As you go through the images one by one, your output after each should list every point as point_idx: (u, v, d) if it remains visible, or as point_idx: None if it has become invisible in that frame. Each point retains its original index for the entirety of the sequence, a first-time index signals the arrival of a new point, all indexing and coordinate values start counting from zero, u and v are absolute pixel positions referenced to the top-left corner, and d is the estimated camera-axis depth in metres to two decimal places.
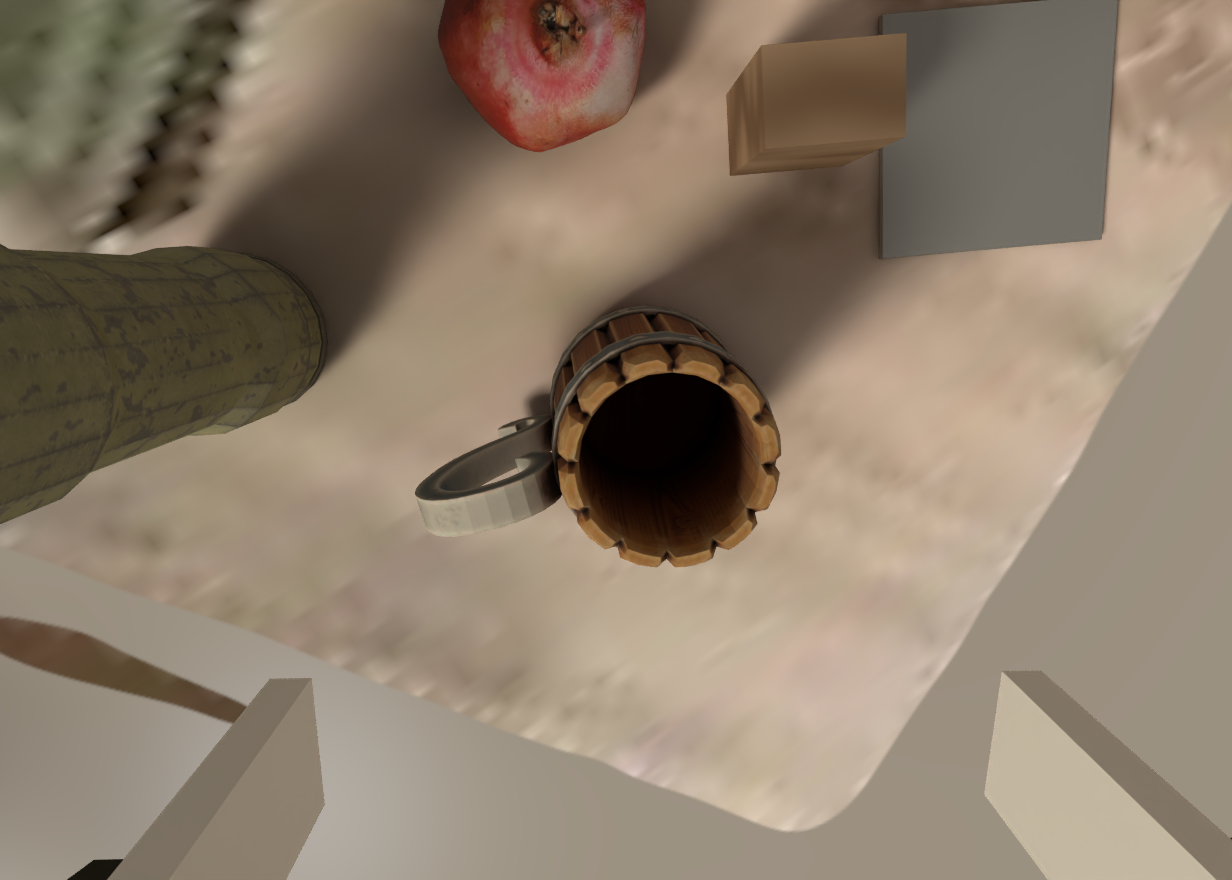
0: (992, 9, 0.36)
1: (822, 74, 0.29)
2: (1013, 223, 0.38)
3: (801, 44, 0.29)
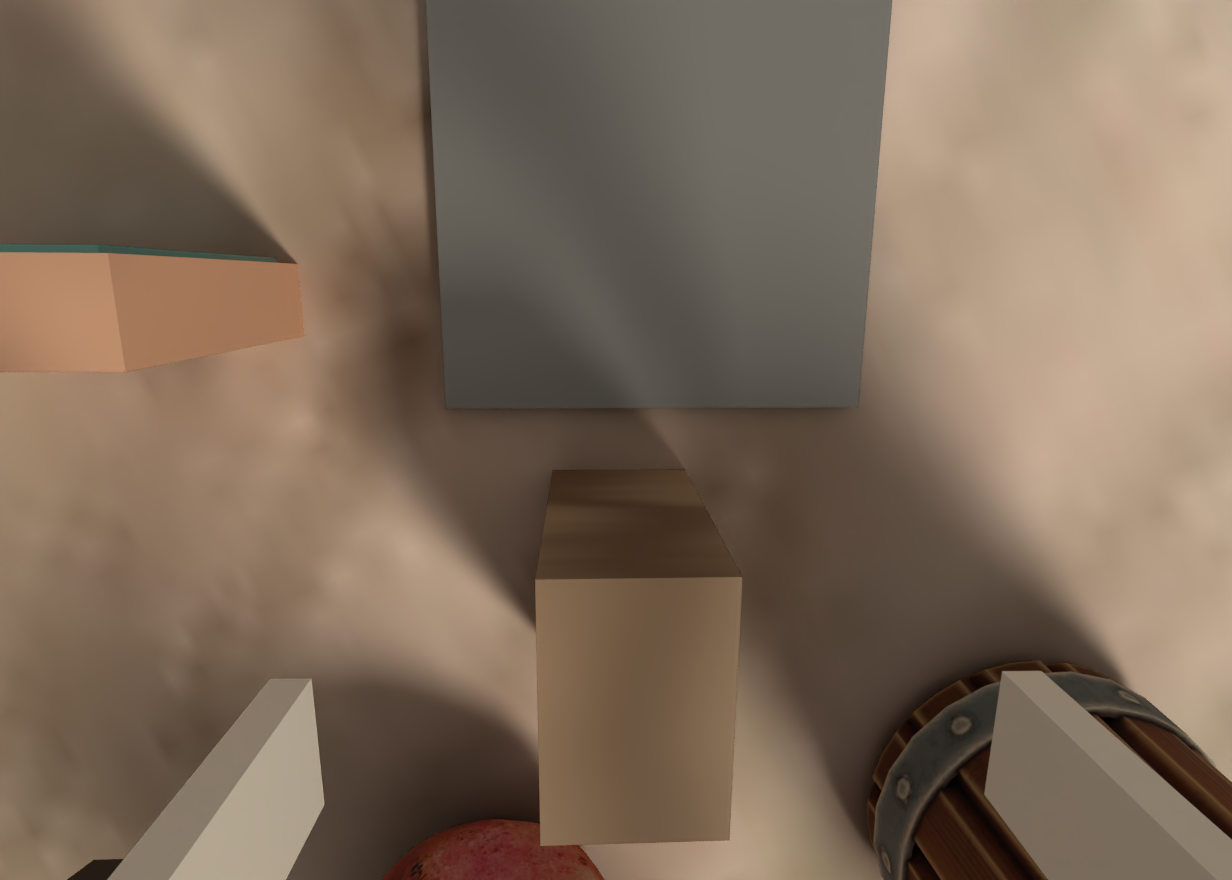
0: (443, 204, 0.19)
1: (602, 739, 0.14)
2: (835, 147, 0.19)
3: (544, 777, 0.14)
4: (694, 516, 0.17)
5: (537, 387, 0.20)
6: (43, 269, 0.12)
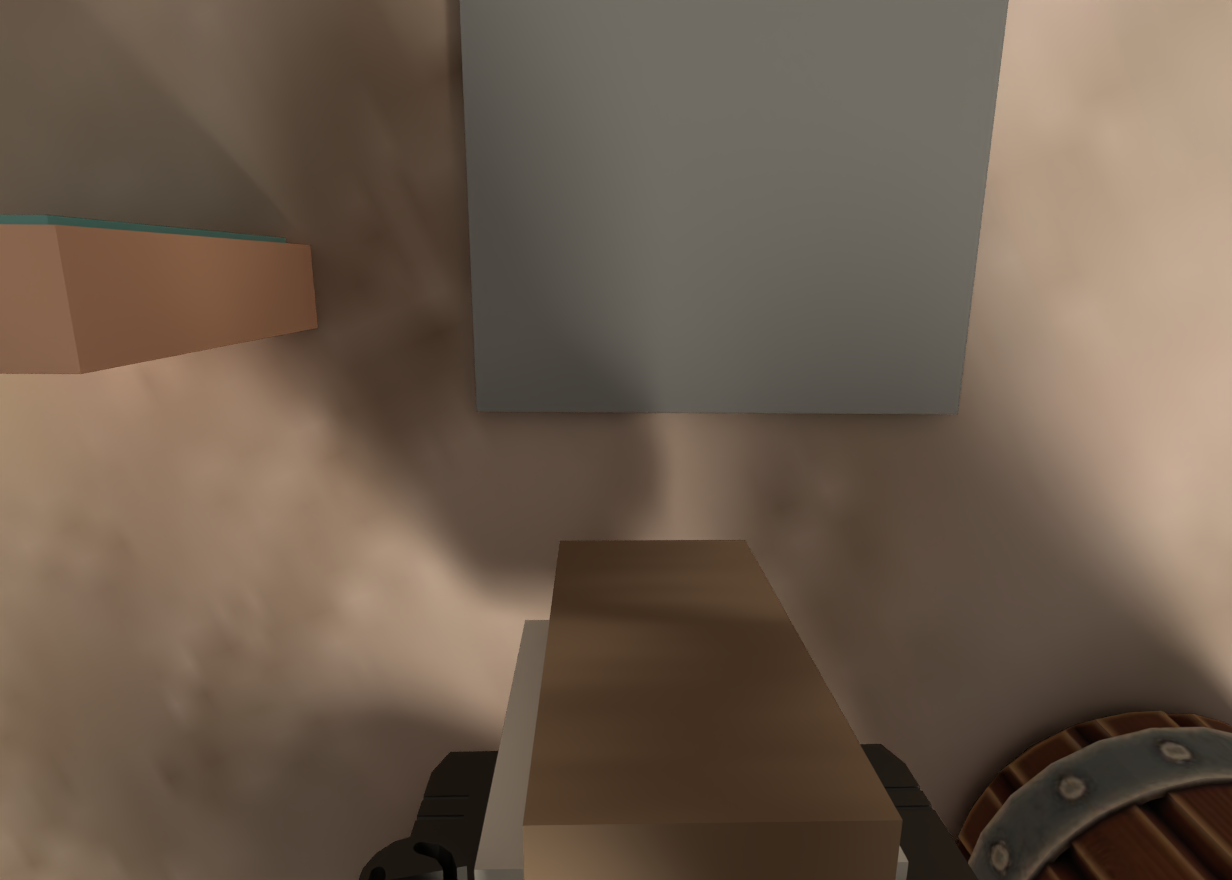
0: (475, 174, 0.16)
1: None
2: (941, 104, 0.16)
3: None
4: (779, 644, 0.11)
5: (581, 388, 0.17)
6: None
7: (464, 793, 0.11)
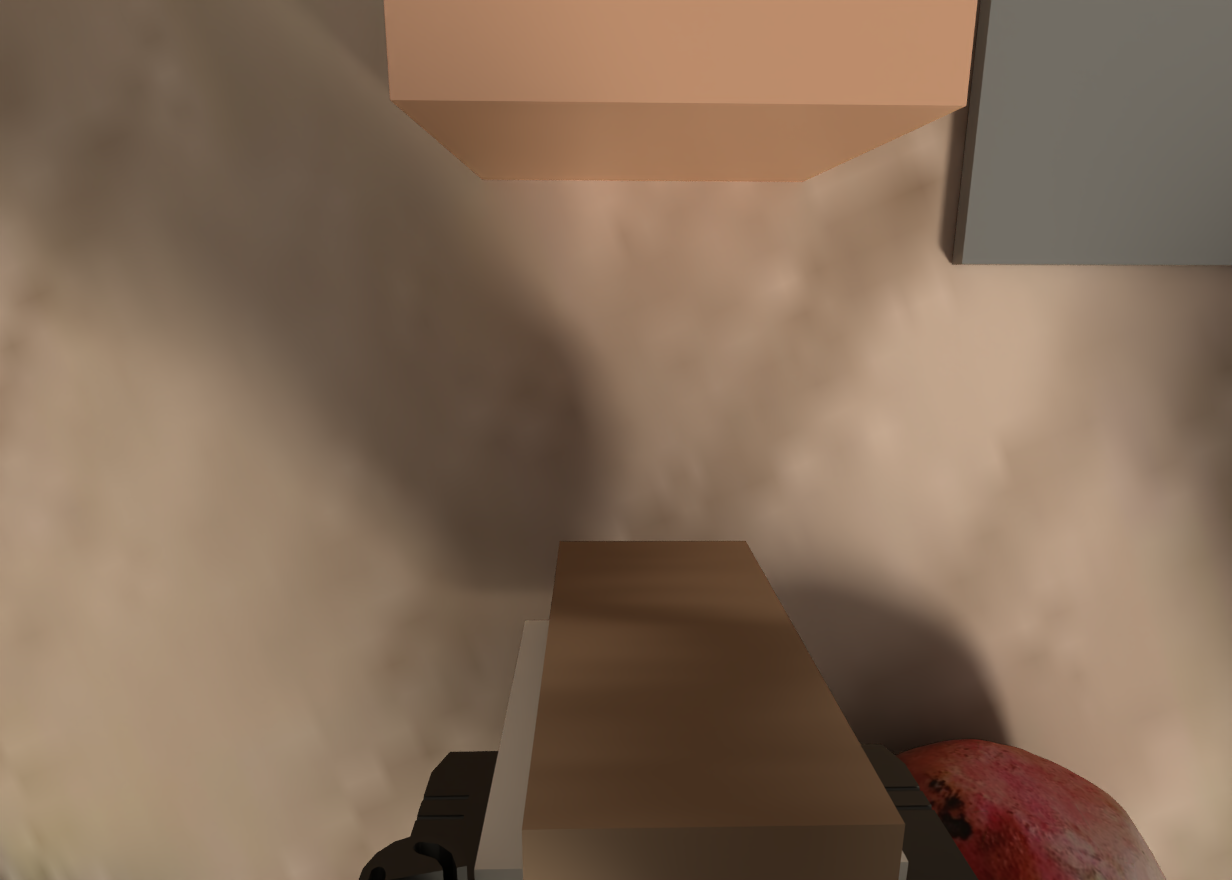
0: (997, 18, 0.16)
1: None
2: None
3: None
4: (780, 646, 0.11)
5: (1068, 239, 0.18)
6: None
7: (464, 793, 0.11)
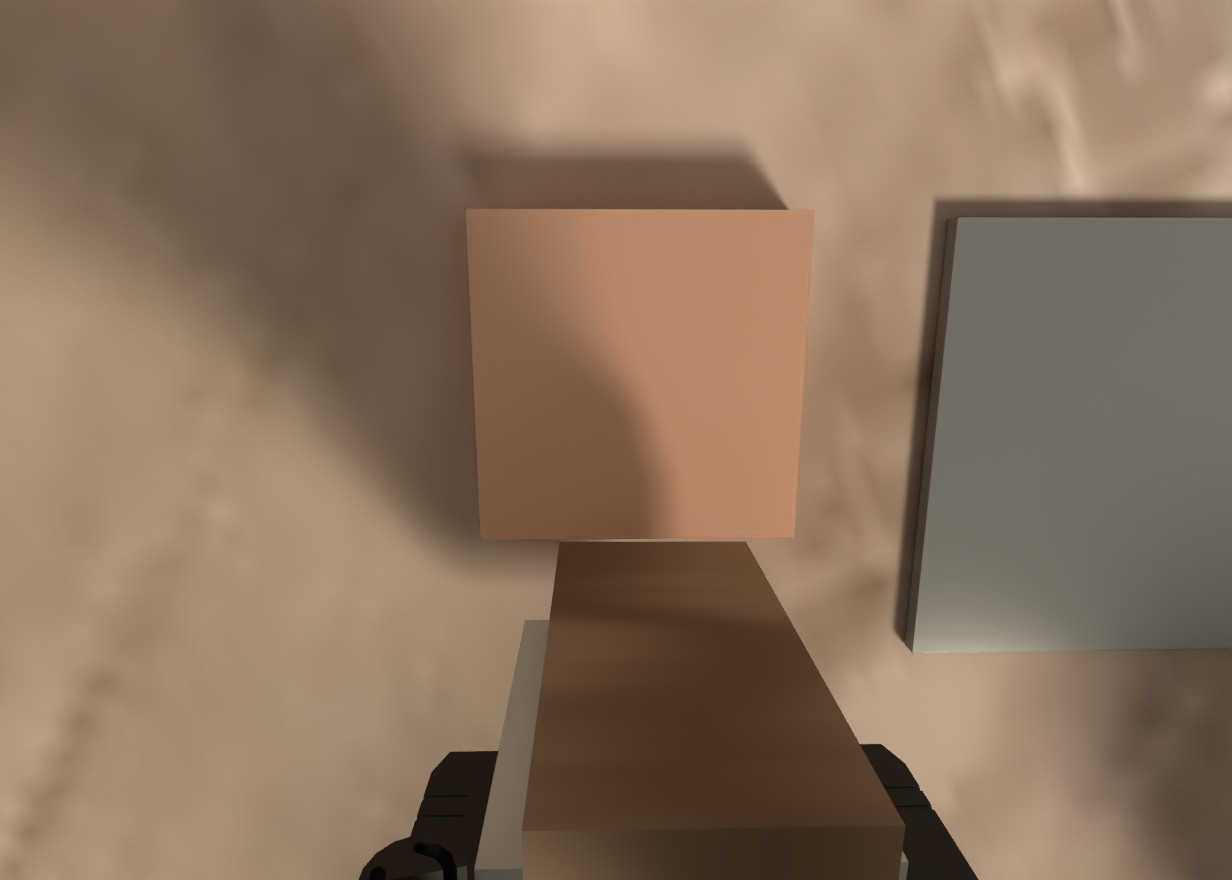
0: (939, 466, 0.19)
1: None
2: None
3: None
4: (780, 646, 0.11)
5: (1004, 632, 0.20)
6: None
7: (464, 793, 0.11)
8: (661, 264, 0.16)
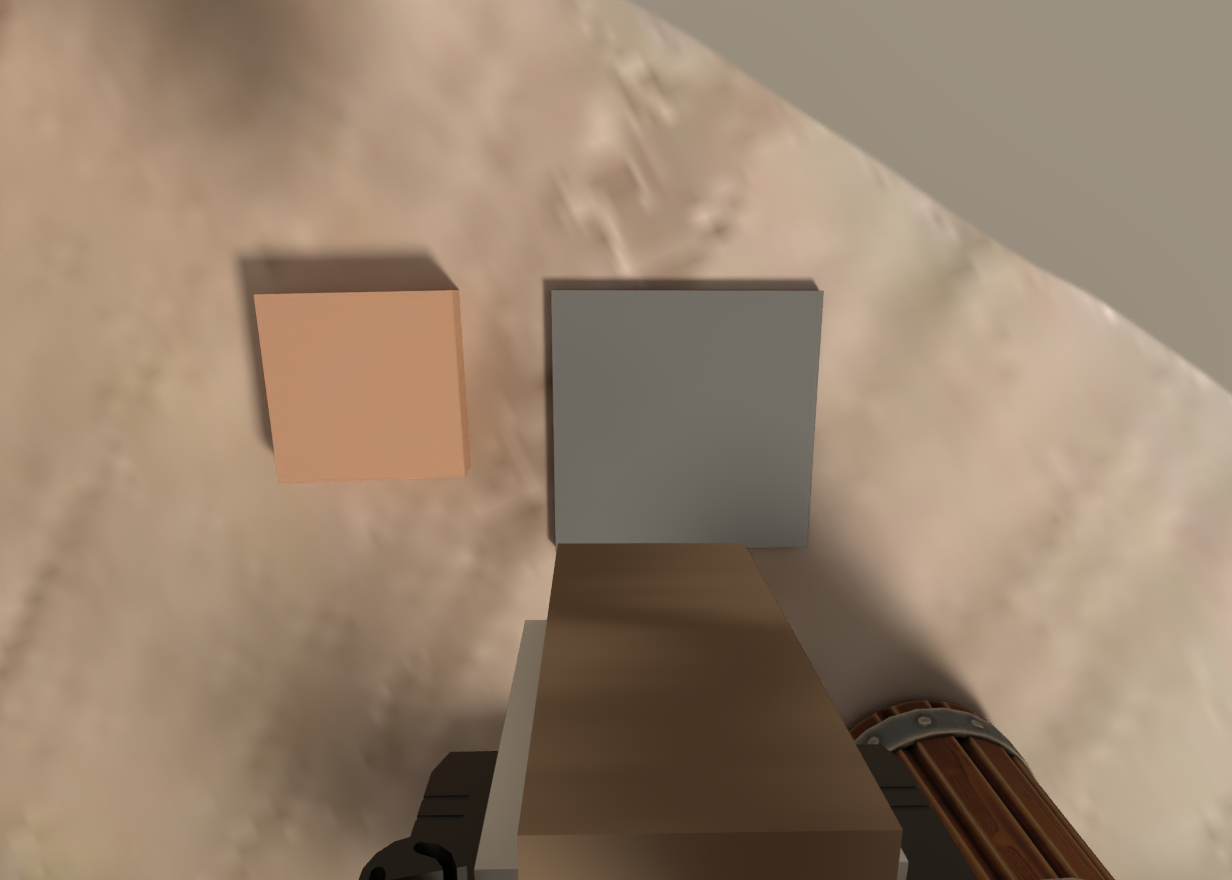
0: (558, 435, 0.32)
1: None
2: (790, 400, 0.32)
3: None
4: (779, 648, 0.11)
5: (611, 538, 0.33)
6: (433, 290, 0.31)
7: (464, 793, 0.11)
8: (368, 322, 0.29)
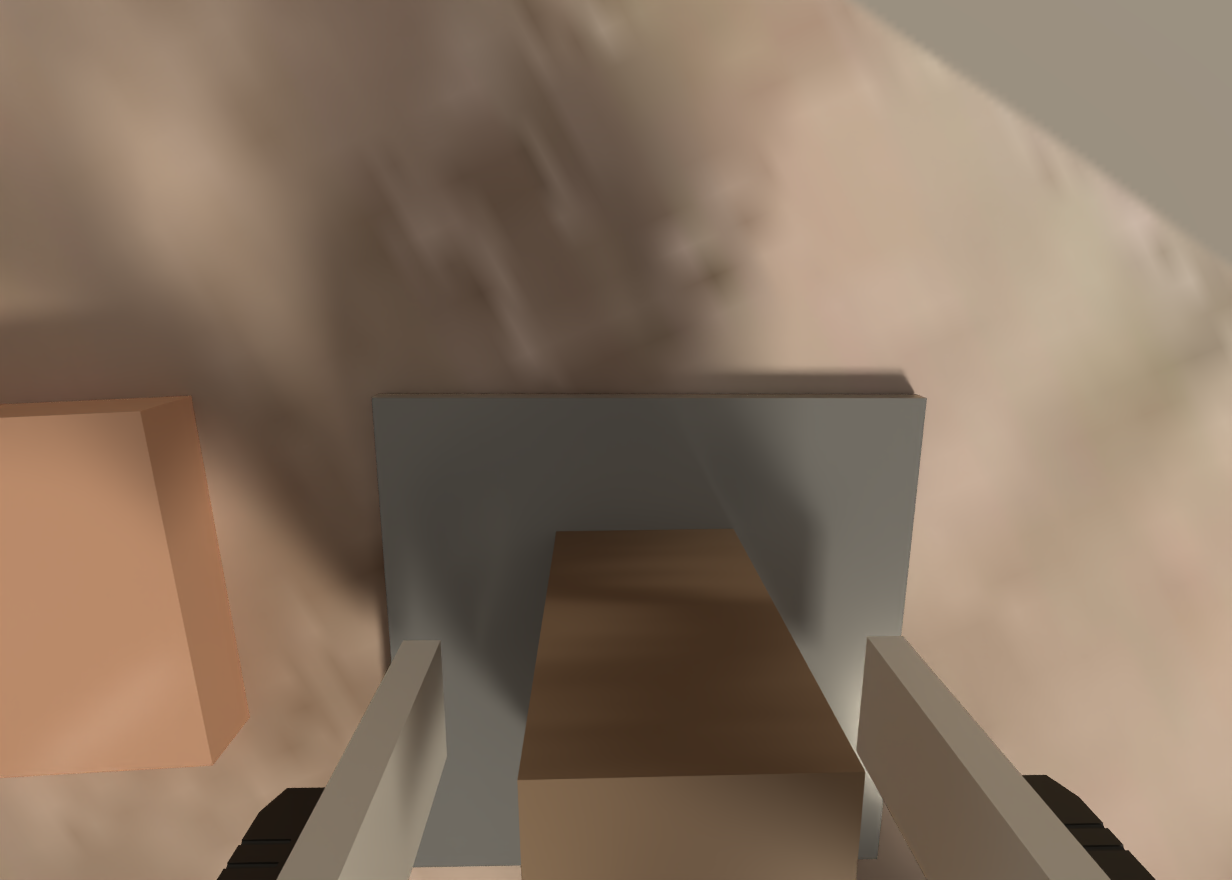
0: None
1: None
2: (852, 604, 0.16)
3: None
4: (761, 621, 0.12)
5: (510, 845, 0.18)
6: (138, 399, 0.15)
7: (286, 836, 0.10)
8: None
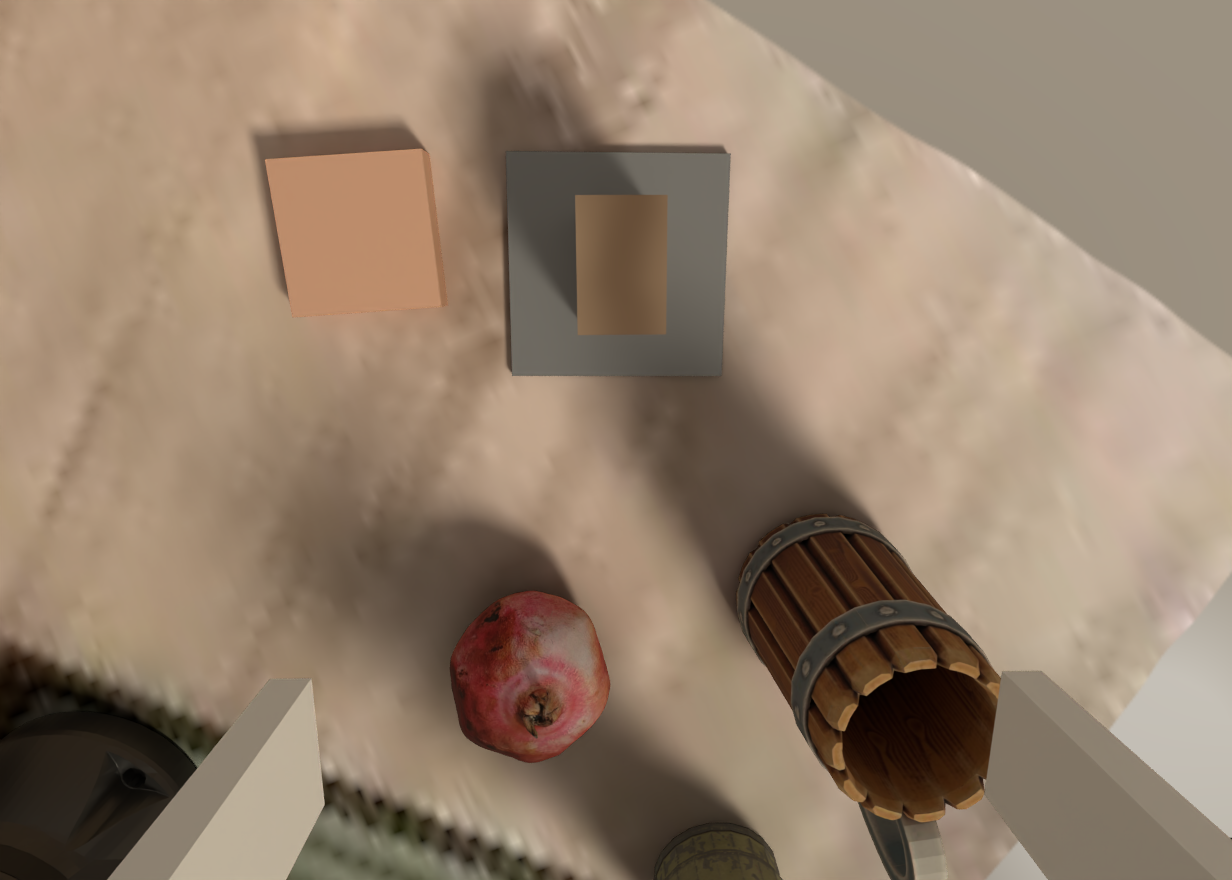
0: (512, 275, 0.39)
1: (606, 278, 0.31)
2: (704, 247, 0.39)
3: (579, 297, 0.31)
4: None
5: (558, 365, 0.40)
6: None
7: None
8: (356, 178, 0.36)
